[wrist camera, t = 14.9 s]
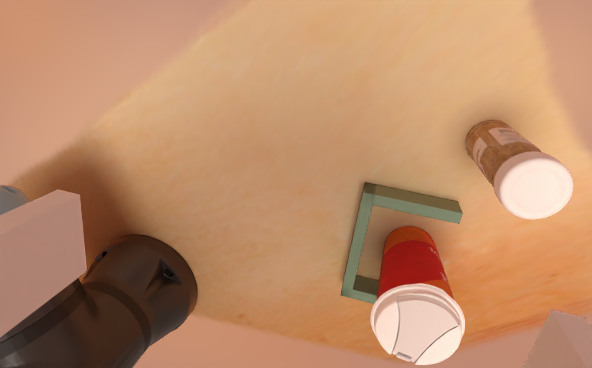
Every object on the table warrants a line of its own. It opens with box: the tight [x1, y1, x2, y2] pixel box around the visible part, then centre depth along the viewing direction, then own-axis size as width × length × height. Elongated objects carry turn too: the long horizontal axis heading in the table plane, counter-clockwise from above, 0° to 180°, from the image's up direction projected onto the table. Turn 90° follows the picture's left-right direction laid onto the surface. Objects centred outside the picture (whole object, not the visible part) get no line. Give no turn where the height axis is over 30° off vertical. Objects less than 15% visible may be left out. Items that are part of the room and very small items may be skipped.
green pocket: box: [341, 182, 463, 304], centre depth 43 cm, size 10×13×3 cm
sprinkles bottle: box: [466, 120, 574, 219], centre depth 32 cm, size 5×5×14 cm
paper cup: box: [370, 226, 465, 365], centre depth 37 cm, size 8×8×14 cm
